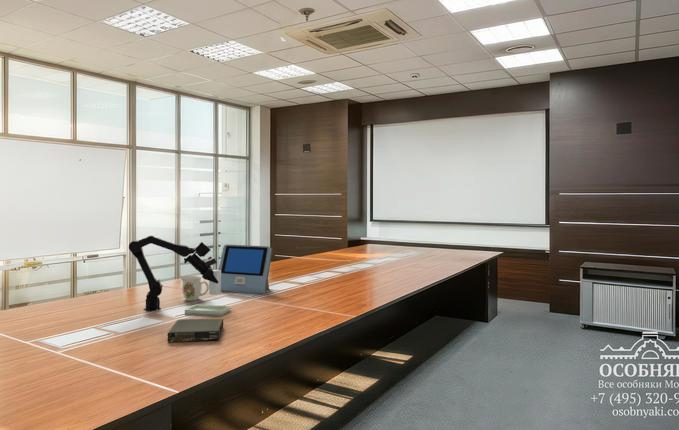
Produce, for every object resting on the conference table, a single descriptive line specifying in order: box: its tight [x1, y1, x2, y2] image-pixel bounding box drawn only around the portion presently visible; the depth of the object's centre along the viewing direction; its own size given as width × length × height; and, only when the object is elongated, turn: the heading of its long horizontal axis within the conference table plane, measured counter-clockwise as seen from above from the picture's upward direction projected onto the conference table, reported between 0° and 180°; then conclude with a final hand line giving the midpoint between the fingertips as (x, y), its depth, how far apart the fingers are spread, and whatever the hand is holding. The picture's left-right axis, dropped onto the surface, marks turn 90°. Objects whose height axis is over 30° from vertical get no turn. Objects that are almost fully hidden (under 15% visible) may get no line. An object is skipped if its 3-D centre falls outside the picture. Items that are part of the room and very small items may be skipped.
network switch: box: [166, 318, 224, 343], centre depth 204 cm, size 23×23×5 cm
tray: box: [184, 303, 231, 317], centre depth 243 cm, size 20×12×2 cm, turn 80°
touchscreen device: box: [218, 244, 273, 295], centre depth 302 cm, size 35×20×30 cm, turn 73°
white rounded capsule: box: [208, 269, 222, 296], centre depth 259 cm, size 6×6×13 cm
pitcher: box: [178, 275, 209, 302], centre depth 273 cm, size 11×18×14 cm, turn 90°
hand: (217, 281), depth 259 cm, fingers closed on white rounded capsule, 6 cm apart
